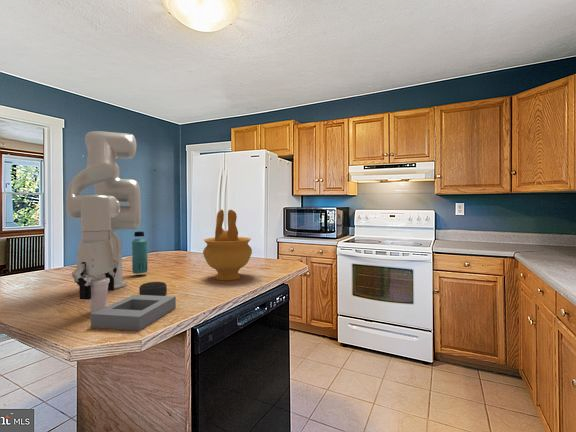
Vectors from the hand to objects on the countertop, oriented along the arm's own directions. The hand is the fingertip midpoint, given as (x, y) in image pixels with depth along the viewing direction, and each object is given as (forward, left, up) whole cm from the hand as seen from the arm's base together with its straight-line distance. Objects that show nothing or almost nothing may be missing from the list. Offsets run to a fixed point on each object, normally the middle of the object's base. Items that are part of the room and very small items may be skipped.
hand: (97, 294), depth 94 cm
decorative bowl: (+23, +49, -5) cm, 54 cm away
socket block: (+14, -2, -5) cm, 15 cm away
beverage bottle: (-18, +47, -5) cm, 51 cm away
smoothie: (0, 0, -5) cm, 5 cm away
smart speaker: (+6, +19, -6) cm, 21 cm away
